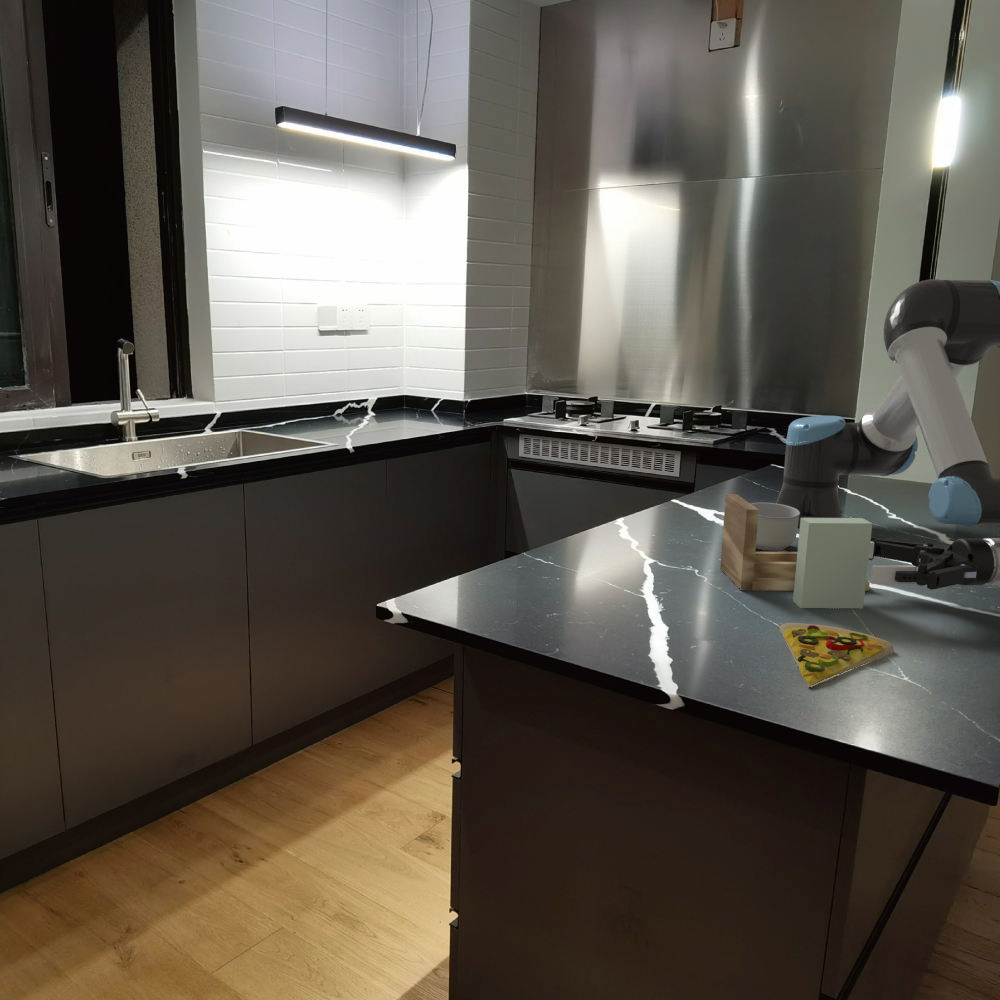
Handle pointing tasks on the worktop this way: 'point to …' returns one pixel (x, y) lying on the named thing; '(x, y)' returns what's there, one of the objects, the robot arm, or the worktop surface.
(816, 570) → the pale green block
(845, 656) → the pizza slice
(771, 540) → the teacup
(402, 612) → the worktop surface
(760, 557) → the track
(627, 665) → the worktop surface
